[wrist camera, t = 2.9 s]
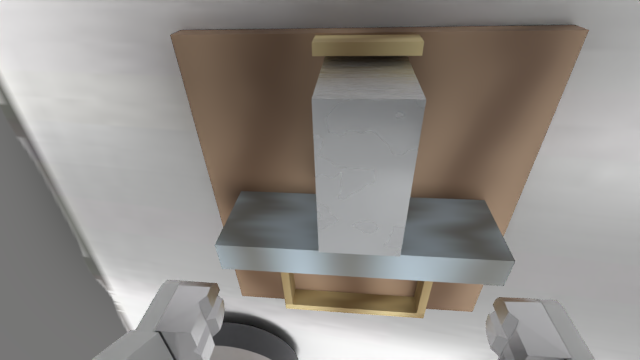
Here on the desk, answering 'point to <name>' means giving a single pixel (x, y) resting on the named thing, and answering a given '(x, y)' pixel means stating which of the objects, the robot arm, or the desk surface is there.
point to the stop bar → (365, 152)
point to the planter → (249, 344)
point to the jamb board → (430, 170)
